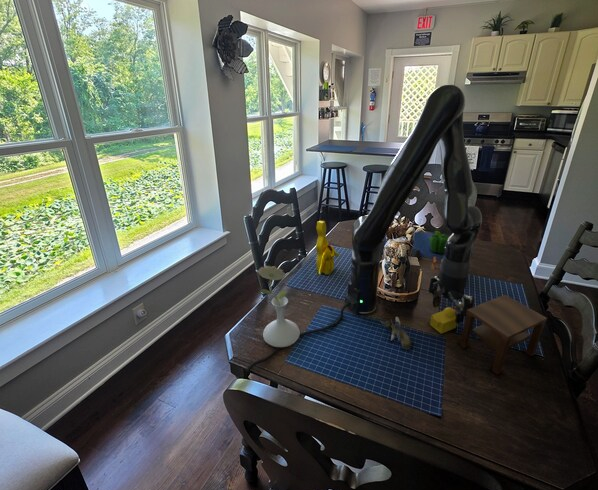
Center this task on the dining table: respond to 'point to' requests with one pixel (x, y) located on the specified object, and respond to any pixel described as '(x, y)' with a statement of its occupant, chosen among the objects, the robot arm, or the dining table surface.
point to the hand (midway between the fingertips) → (446, 314)
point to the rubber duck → (444, 320)
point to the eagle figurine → (399, 333)
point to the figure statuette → (324, 251)
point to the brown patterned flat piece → (414, 252)
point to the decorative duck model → (435, 262)
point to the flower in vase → (278, 314)
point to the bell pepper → (438, 242)
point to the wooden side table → (503, 327)
